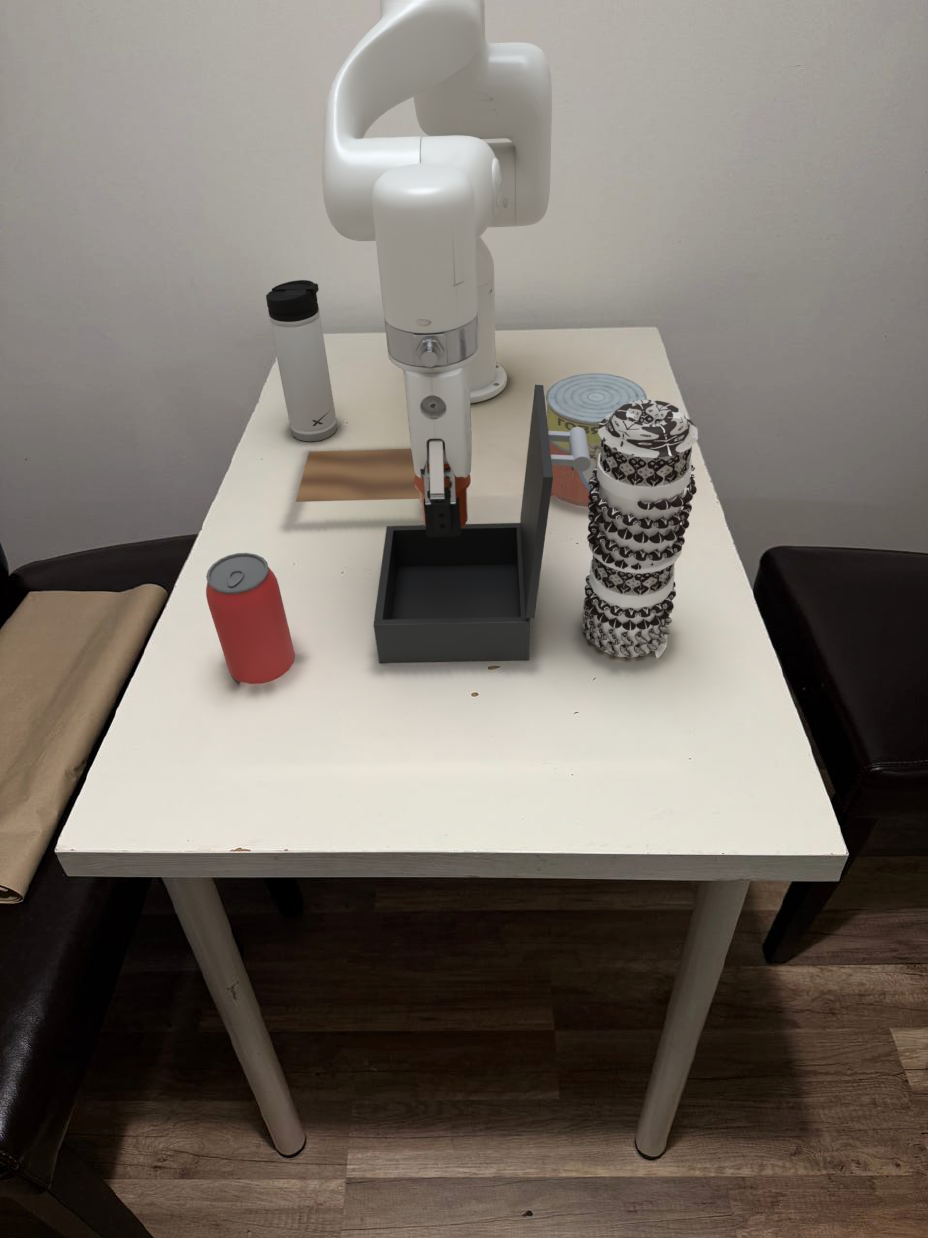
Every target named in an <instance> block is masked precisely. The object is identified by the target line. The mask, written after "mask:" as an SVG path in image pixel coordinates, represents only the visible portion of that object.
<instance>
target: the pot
mask: <svg viewBox="0 0 928 1238" xmlns="http://www.w3.org/2000/svg"><path fill="white" fill-rule="evenodd" d="M444 468H450V466H449V464H444ZM428 469H429V465H428ZM455 477H456V476H455ZM471 478H472V476H471V473H470V474H469V475H468V476H467V477H466V478H463V477H456V498H459V501H460V519H461V527H463V526H464V525H465V524H467V522H468V520H469V505H468V488H469V487H470V485H471V482H472V481H471ZM414 484H415V487H416V489H417V490H418V491H419V492H420V499H419V501H420V513H421V521H422V525H425V526H426V524H425V513H424V499H425V489H424V476H423V477H422V479H421V478H419V477H418V476H417V475H415V478H414ZM445 487H448V488H449V491H450V486H449V478H445Z"/></svg>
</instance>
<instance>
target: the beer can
mask: <svg viewBox="0 0 928 1238" xmlns="http://www.w3.org/2000/svg"><path fill="white" fill-rule="evenodd" d="M205 577H206V582H207V583H206V588H205V596H206V601H207V605H208V609H209V612H210V615H211V618H212V621H213V625H214V627H215V628H214V629H215V631H216V634H217V637H218V641H219V643H220V647H221V651H222V653H223V657H224V660H225V663H226V666H227V670H228V673H229V674H230V675H231V677H232V678H233V679H234V680H235V681H237V682H239V683H244V684H245V683H246V684H249V685H254V684H255V685H256V684H257V685H258V684H260V685H261V684H265V683H269V682H272V681H274V680H277V679H278V678H280V677H282V676H284V675H285V674H286V673H287V672H289V670H290V669H291V667H292V666H293V664H294V662H295V657H296V653H295V649H294V644H293V639H292V636H291V632H290V628H289V623H288V618H287V615H286V614H287V613H286V610H285V606H284V601H283V598H282V594H281V589H280V583H279V582H278V578H277V576H276V575H275V573H274V571H273V570H272V569H271V568H270V566H269V563H268V561H266V559H265V558H264V557H262V556H260V555H258V554H256V553H251V552H236V553H232V554H228V555H226V556H224V557H222V558H220V559H218V560H217V561H215V562H214V563H213V564H212V565H211V566H210V567H209V569H208V570H207V573H206V576H205Z"/></svg>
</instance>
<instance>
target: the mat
mask: <svg viewBox="0 0 928 1238" xmlns="http://www.w3.org/2000/svg"><path fill="white" fill-rule="evenodd" d="M415 475H416V474H415V470H414V464H413V457H412V450H411V448H393V449H392V448H389V449H387V448H386V449H355V450H353V449H352V450H351V449H350V450H349V449H348V450H317V451H308V454H307V457H306V461H305V464H304V468H303V472H302V475H301V480H300V483H299V487H298V491H297V495H296V498H295V503H304V502H305V503H309V502H310V503H311V502H339V501H340V502H342V501H343V502H348V501H351V502H352V501H385V500H388V501H389V500H420V492H419V491H418V490H417V489H416V487H415V484H414V478H415Z"/></svg>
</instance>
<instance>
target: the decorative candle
mask: <svg viewBox="0 0 928 1238" xmlns="http://www.w3.org/2000/svg"><path fill="white" fill-rule="evenodd" d="M598 434H599V436H600V437H601V439H602V440H601V452H600V453H599V457H598V464H597V467H596V468H595V469H594V470H593V472H592V475H593V477H591V478H590V480H589V487H590V488H591V489H590V492H589V494H588V498H589V500H590V502H589V503H588V507H587V508H588V510H589V512H588V515H587V518H588V520H589V523H588V525H587V531H588V532H589V534H588V535H587V536H586V539H587V542H588V547H589V550H590V551H591V553H592V558H591V560H590V567H589V574H588V575H587V576H586V577H585V583H586V585H585V586H584V594H585V596H586V597H585V598H584V599H583V612H582V621H583V622H582V624H581V629H582V632H583V634H585V635H586V640H587V641H588V642H589V643H591V644H592V645H595V647H596V648H597V650H599V651H600V652H604V653H607V654H609V655H611V656H612V657H620V658H625V659H632V658H637V657H638V658H641V657H644V656H646V655H648V654H651V653H652V652H654V653H655V659H656V660H658V659H660V658H661V656H662V655H663V653H664V652H665V650H666V649H667V646H668V636H669V635H670V634H671V631H670V629H669V627H667V626H669V625H670V624H671V623H672V622H673V618H672V617H670V614H672V612H673V610H674V607H675V605H674V603H673V600H674V599H675V598H676V595H677V592H676V589H675V588H676V586H677V585H676V582H675V563H676V562H677V561H678V559H679V557H681V555H682V551H683V545H684V544H685V542H686V539H685V537H684V535H685V533H686V529H688V528H689V527H690V521H689V520H688V519H689V517H690V513H691V512H692V510H693V506H692V504H691V503H690V502H691V501H692V500H693V498H694V495H695V494H696V493H697V490H698V489H697V486H696V481H695V480H694V478H696V476H695V474H693V473H692V472H694V471H695V469H696V468H695V466H694V465H693V464H692V453H693V450H692V449H693V446H694V445H695V443H696V442H697V441H698V440H699V429H698V427H697V426H696V424H694V422H693V421H692V420H691V419H690V418H688V417H687V416H686V415H685V414H684V413H683V412H682V410H681V409H680V408H679V407H677V406H675V405H673V404H671V403H670V402H666V401H662V400H658V399H648V398H647V399H643V400H636V401H631V402H629V403H626V404H624V405H621V406H620V407H619V408H618V409H617V410H616V411H615V412H614V413H611V414H609V415H607V416H606V417H605V418H604V419H603V420H602V421H601V422H600V423H599V429H598ZM596 479H598V480H597V481H596ZM685 490H686V491H685ZM598 491H599V492H598ZM595 500H596V501H595Z"/></svg>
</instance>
